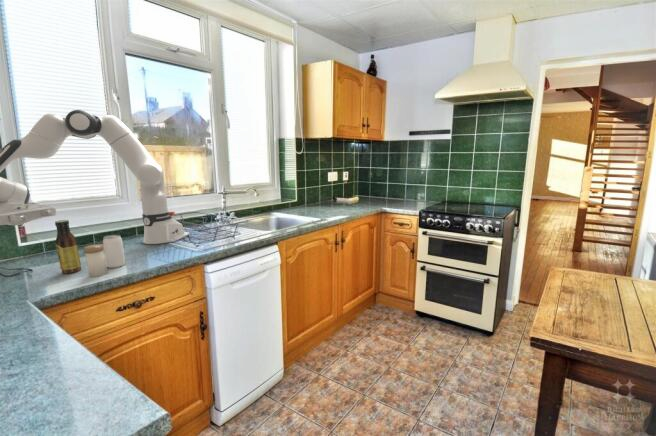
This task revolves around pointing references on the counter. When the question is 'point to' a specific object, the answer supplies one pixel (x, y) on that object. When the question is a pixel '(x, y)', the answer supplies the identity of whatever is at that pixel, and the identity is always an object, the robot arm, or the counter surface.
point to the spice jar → (95, 260)
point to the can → (113, 251)
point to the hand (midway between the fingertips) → (37, 216)
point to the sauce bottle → (67, 248)
